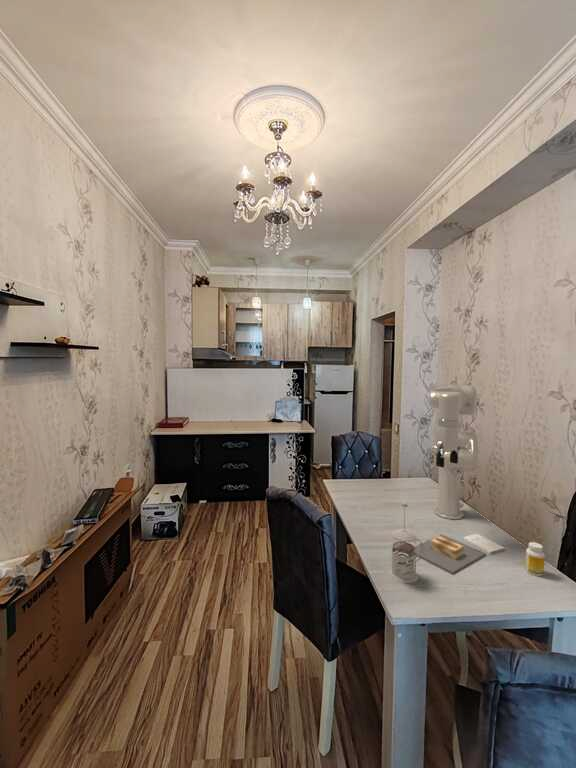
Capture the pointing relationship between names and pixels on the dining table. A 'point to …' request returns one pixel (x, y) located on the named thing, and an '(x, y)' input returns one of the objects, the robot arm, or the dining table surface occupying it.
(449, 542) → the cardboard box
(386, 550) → the dining table surface
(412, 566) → the french press
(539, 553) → the supplement bottle
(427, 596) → the dining table surface
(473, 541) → the external hard drive
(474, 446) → the robot arm
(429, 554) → the rubber mat
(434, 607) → the dining table surface
